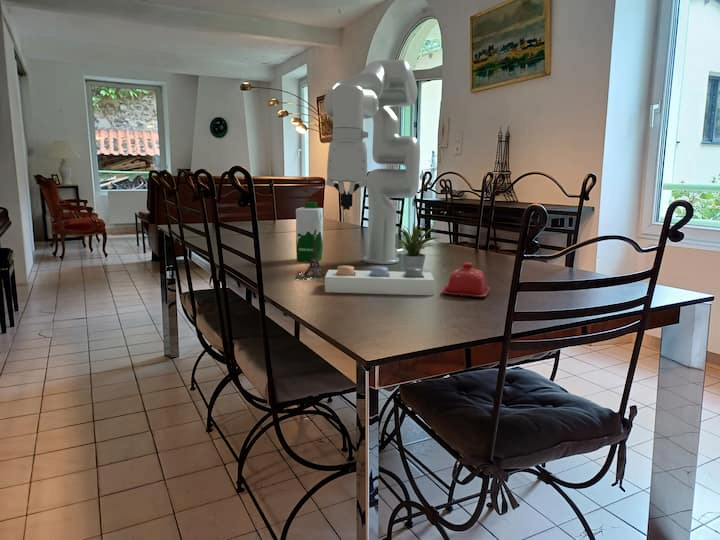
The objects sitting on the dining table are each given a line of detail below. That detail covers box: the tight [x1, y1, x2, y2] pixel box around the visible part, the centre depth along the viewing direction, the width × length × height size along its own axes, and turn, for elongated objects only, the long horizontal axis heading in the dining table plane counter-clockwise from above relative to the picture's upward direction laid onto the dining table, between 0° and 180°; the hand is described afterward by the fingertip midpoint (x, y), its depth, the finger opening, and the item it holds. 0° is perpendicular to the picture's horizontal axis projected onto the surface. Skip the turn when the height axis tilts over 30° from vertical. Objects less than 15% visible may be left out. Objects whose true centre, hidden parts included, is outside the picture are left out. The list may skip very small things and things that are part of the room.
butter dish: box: [441, 261, 491, 298], centre depth 136 cm, size 12×12×8 cm
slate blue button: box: [370, 265, 389, 277], centre depth 138 cm, size 4×4×3 cm
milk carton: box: [295, 201, 324, 263], centre depth 178 cm, size 9×9×20 cm
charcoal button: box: [405, 267, 423, 278], centre depth 137 cm, size 4×4×3 cm
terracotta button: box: [336, 265, 355, 276], centre depth 138 cm, size 4×4×3 cm
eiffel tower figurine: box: [294, 237, 326, 283], centre depth 152 cm, size 15×10×13 cm
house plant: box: [394, 222, 441, 272], centre depth 156 cm, size 14×14×16 cm
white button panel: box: [324, 269, 436, 296], centre depth 138 cm, size 28×10×4 cm, turn 88°
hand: (346, 209), depth 135 cm, fingers closed
